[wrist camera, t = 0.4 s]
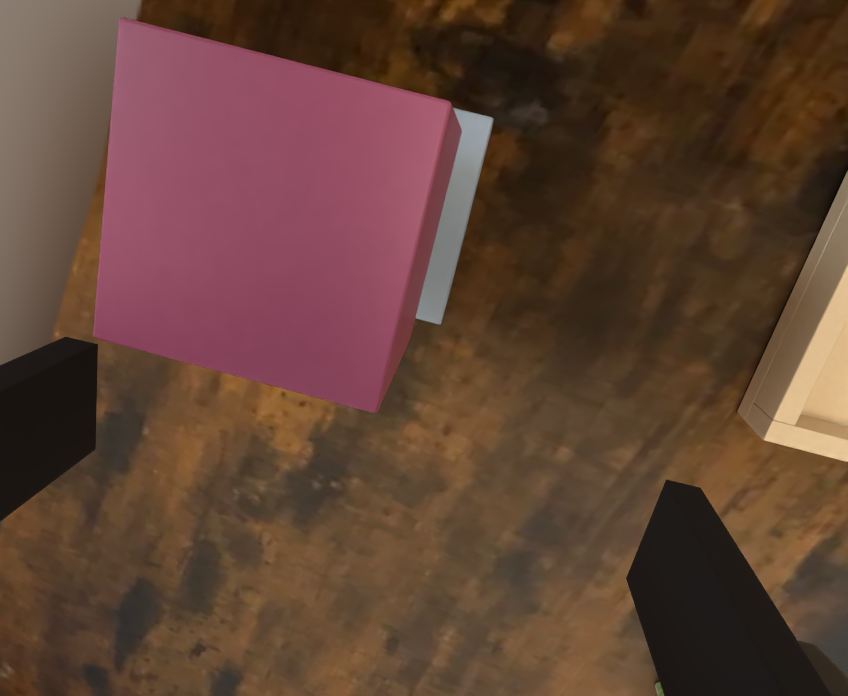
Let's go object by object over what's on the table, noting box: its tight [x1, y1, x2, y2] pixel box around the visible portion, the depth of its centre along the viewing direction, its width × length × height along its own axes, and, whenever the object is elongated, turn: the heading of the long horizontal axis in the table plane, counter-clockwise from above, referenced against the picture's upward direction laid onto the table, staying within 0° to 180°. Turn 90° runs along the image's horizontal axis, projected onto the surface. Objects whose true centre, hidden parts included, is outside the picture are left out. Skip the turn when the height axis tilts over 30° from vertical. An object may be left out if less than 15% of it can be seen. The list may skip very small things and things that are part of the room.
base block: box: [415, 108, 493, 324], centre depth 25 cm, size 8×8×5 cm
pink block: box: [93, 18, 462, 413], centre depth 15 cm, size 6×6×6 cm
